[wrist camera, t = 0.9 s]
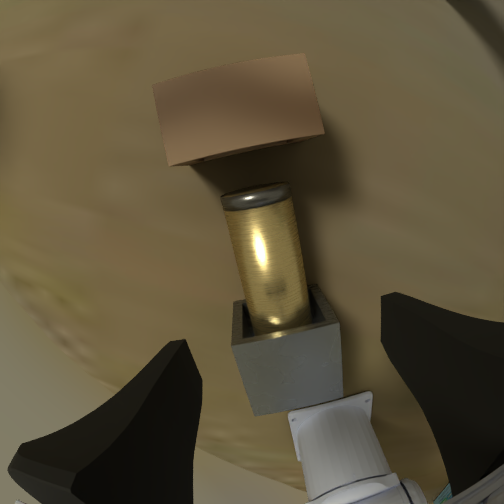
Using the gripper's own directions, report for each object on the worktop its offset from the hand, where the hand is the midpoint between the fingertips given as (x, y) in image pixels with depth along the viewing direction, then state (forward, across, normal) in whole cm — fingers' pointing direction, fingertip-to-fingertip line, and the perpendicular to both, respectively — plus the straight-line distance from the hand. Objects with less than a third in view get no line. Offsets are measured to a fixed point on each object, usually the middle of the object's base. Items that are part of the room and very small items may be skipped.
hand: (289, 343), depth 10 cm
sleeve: (+9, 0, +6) cm, 11 cm away
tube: (+9, 0, +2) cm, 10 cm away
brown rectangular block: (+9, 0, -9) cm, 13 cm away
